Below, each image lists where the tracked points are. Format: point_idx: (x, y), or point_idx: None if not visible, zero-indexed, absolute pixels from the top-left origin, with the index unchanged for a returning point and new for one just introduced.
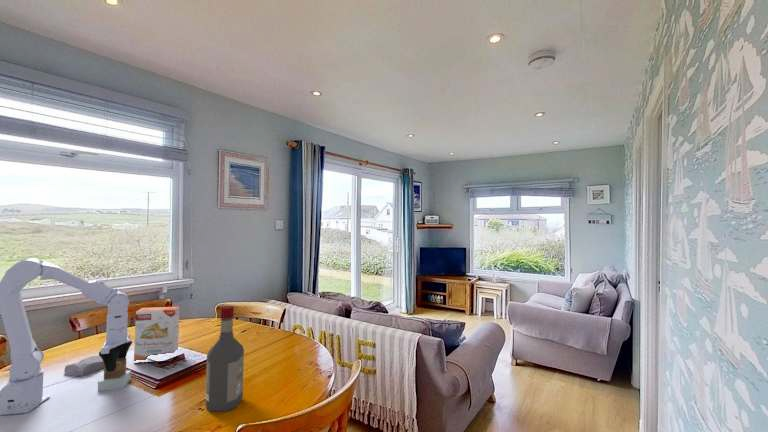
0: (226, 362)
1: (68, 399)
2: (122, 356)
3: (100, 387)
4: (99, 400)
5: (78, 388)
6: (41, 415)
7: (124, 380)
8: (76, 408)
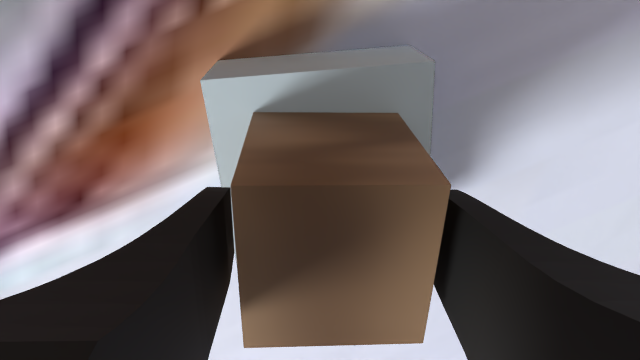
0: None
1: None
2: (208, 256)
3: None
4: (580, 128)
5: None
6: None
7: (394, 57)
8: (635, 212)
